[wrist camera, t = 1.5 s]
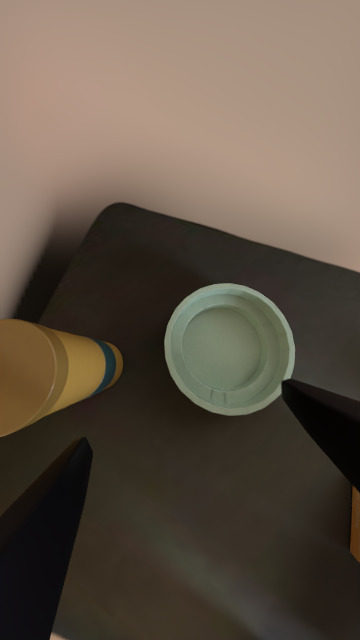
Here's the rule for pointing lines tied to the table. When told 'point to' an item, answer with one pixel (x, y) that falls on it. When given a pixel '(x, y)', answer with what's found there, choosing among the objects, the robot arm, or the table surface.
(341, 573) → the table surface
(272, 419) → the table surface
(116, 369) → the tea tin
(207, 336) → the bowl
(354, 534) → the small box
